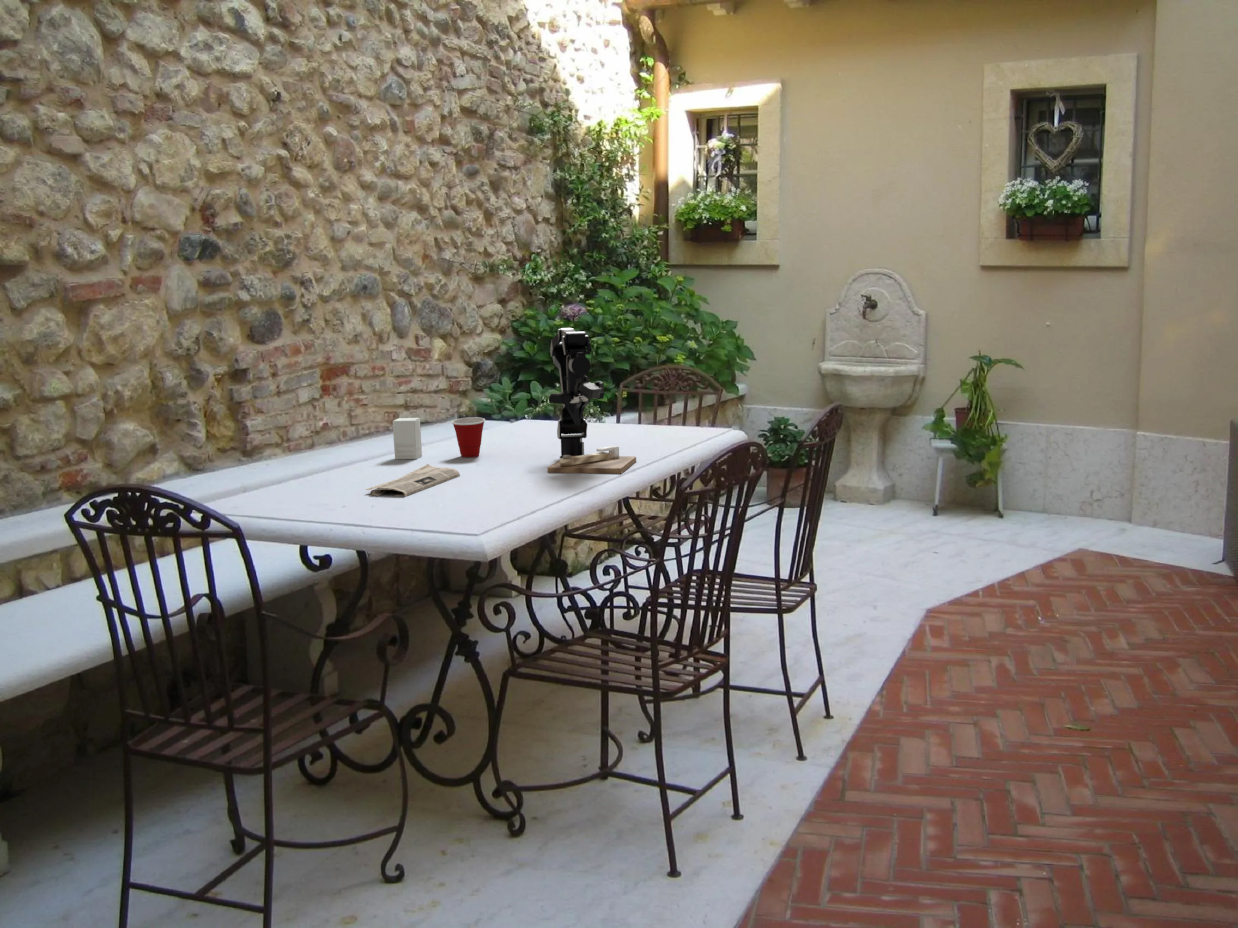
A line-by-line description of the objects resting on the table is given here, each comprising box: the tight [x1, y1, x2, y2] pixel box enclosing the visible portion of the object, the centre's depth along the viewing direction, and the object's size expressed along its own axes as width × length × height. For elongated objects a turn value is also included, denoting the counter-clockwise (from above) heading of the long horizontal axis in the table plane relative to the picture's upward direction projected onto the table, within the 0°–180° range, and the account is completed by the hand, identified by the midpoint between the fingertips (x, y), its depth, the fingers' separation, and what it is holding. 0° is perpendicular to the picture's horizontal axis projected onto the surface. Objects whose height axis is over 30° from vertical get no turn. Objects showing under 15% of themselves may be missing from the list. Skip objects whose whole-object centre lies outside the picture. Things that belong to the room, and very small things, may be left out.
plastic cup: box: [451, 416, 486, 458], centre depth 379 cm, size 11×11×12 cm
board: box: [547, 455, 637, 474], centre depth 354 cm, size 22×23×2 cm
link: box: [559, 451, 609, 466], centre depth 352 cm, size 18×4×3 cm, turn 135°
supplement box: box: [392, 417, 423, 460], centre depth 378 cm, size 7×7×13 cm
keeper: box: [596, 445, 620, 458], centre depth 359 cm, size 8×2×3 cm, turn 136°
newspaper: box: [365, 463, 461, 498], centre depth 328 cm, size 35×12×4 cm, turn 163°
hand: (577, 424), depth 359 cm, fingers closed
